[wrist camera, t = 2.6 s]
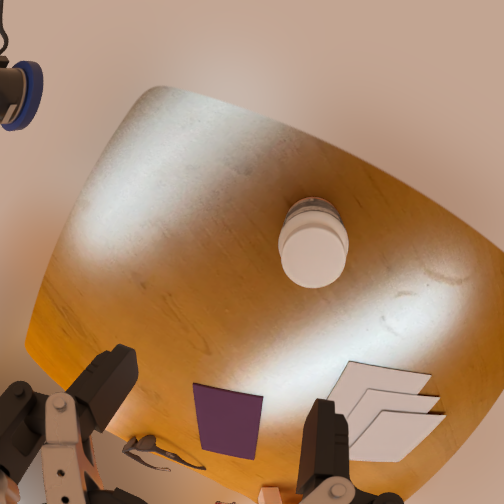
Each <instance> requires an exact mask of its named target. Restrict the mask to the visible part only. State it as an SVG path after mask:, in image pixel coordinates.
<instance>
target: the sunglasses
mask: <svg viewBox="0 0 504 504" xmlns="http://www.w3.org/2000/svg"><path fill="white" fill-rule="evenodd" d="M155 442H156V438H155V436H153V435H147V436H145V437H143V438H142V439H140V440H139V441H137V439H136V437H133V438H132V439H130V440H129V441H128V442H127V444H126V445H125V446H124V448H123V451H122V452H123V453H124V454H126V455H127V456H129V457H131V458H132V459H134V460H136V461H138V462H139V463H141V464H143V465H145V466H147V467H150V468H153V469H157V470H164V471H171V470H170V469H168V468H157V467H153V466H151V465H149V464H147V463H145V462H144V461H143V460H142V459H141V458H140V457H139V456H137V455H134V454H132V453H130V452H129V451H130V450H132V449H136V450H138V451H145V452H157V453H159V454H161V455H164V456H166V457H168V458H171V459H173V460H175V461H177V462H180V463H182V464H184V465H187V466H190V467H192V468H196V469H201V470H206V469H205V467H197V466H194V465H191V464H189V463H187V462H185V461H184V460H182V459H181V458H180V457H179V456H178V455H177V454H174V453H170V452H167V451H165V450H162V449H160V448H158V447H157V446H156V444H155Z"/></svg>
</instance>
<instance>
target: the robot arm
mask: <svg viewBox="0 0 504 504" xmlns="http://www.w3.org/2000/svg"><path fill="white" fill-rule="evenodd" d="M2 13H3V0H0V34H1V35H2V37H3V39H4V45H3V48H2V49H1V50H0V55H1V54H2V53H3V52H4V51H5V50H6V48H7V46H8V36H7V34H6V33H5V31H4V29H3V24H2ZM8 63H9V60H8V59H7V57H6V56H0V124H11V123H13V122H15V121H16V120H17V119H18V117H19V116H20V114H21V113H22V110H23V108H24V106H25V103H26V99H27V94H28V86H29V82H28V75H27V73H26V71H25V70H24V69H23V68H6V67H7V65H8ZM137 379H138V365H137V358H136V352H135V350H134V349H132V348H130V347H127V346H125V345H122V344H118V345H117V346H116V347H115V348H114V349H113V350H112V351H111V352H110V351H107V350H106V351H104V352H103V353H101V354H99V355H97V356H96V357H95V358H94V360H93V361H92V362H91V364H89V365H88V366H87V368H86V370H84V371H83V372H82V373H81V374H80V376H79V377H78V378H77V379H76V380H75V381H74V382H73V384H72V385H71V386H70V387H69V388H68V389H67V390H66V391H65V392H57V393H54V394H52V395H50V396H48V395H44V394H41V393H37V392H34V391H33V390H32V388H31V386H30V385H29V384H28V383H27V382H24V381H17V382H14V383H12V384H11V385H10V386H9V387H8V388H7V389H6V391H5V392H4V393H3V394H2V395H1V396H0V504H17V502H19V501H20V495H19V489H18V486H17V485H18V483H19V482H20V480H21V479H22V477H23V475H24V474H25V472H26V470H27V469H28V467H29V466H30V464H31V462H32V461H33V459H34V458H35V456H36V455H37V453H38V451H39V450H40V448H41V457H42V469H43V479H44V487H45V494H46V500H47V503H44V504H147V503H146V502H145V501H144V500H142V499H140V498H139V497H137V496H134V495H132V494H130V493H128V492H125V491H123V490H121V489H119V488H116V489H115V490H114V491H111V490H104V488H103V484H102V480H101V478H100V476H99V473H98V471H97V466H96V461H95V455H94V450H93V444H92V438H91V433H92V432H93V430H96V431H98V432H100V433H102V432H103V431H104V429H105V428H106V426H107V425H108V423H109V422H110V420H111V419H112V418H113V416H114V415H115V413H116V412H117V410H118V409H119V407H120V406H121V404H122V403H123V401H124V400H125V398H126V397H127V395H128V394H129V392H130V391H131V389H132V388H133V386H134V385H135V383H136V381H137ZM348 435H349V428H348V423H347V421H346V419H345V417H344V415H343V414H337V413H335V402H334V401H332V400H325V399H318V398H317V399H316V400H315V402H314V404H313V406H312V408H311V410H310V412H309V414H308V416H307V418H306V421H305V424H304V429H303V438H302V447H301V456H300V465H299V473H298V480H297V488H296V494H303V498H302V501H301V502H300V503H299V504H404V502H403V500H402V498H401V497H400V496H399V495H397V494H395V493H391V492H387V493H383V494H381V495H379V496H377V495H373V494H370V493H367V492H363V491H361V490H359V489H357V488H356V487H355V486H354V485H353V484H352V482H351V480H350V477H349V445H348V444H349V437H348ZM45 441H46V443H45V444H44V442H45Z"/></svg>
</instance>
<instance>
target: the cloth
mask: <svg viewBox="0 0 504 504" xmlns="http://www.w3.org/2000/svg"><path fill="white" fill-rule="evenodd" d="M193 392H194V399H195V407H196V414H197V421H198V428H199V434H200V441H201V447H202V449H203V450H207V451H211V452H216V453H220V454H225V455H229V456H234V457H239V458H245V459H250V460H254V458H255V451H256V444H257V437H258V430H259V423H260V416H261V409H262V401H263V397H262V396H256V395H250V394H244V393H239V392H234V391H229V390H224V389H219V388H214V387H210V386H205V385H201V384H197V383H193Z"/></svg>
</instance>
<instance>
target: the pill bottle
mask: <svg viewBox="0 0 504 504" xmlns="http://www.w3.org/2000/svg"><path fill="white" fill-rule="evenodd" d="M278 248H279V253H280V256H281V261H282V266H283V269H284V271H285V273H286V274H287V276H288V277H289V278H290V279H291V280H292V281H293V282H295V283H296V284H298V285H300V286H303V287H307V288H320V287H324V286H327V285H329V284H330V283H332V282H333V281H335V280H336V279H337V278H338V277H339V275H340V274H341V273H342V271H343V269H344V266H345V261H346V256H347V252H348V248H349V241H348V235H347V231H346V229H345V227H344V224H343V222H342V220H341V217H340V215H339V213H338V211H337V210H336V208H335V207H334V206H333V205H332V204H331V203H330V202H328V201H326V200H324V199H322V198H318V197H308V198H304V199H301V200H299V201H298V202H296V203H295V204H294V205H293V206H292V207H291V208H290V209H289V211H288V213H287V215H286V218H285V221H284V224H283V227H282V230H281V233H280V236H279V240H278Z"/></svg>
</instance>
